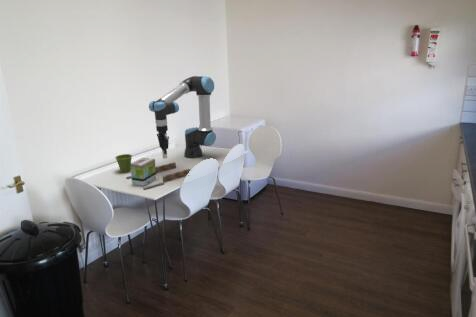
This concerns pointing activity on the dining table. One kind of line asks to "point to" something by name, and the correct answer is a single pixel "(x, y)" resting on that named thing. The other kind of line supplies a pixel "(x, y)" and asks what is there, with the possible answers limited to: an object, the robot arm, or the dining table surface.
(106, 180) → the dining table surface
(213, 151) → the dining table surface
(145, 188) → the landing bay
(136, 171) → the tea box
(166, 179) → the walnut chute
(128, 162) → the plant pot
